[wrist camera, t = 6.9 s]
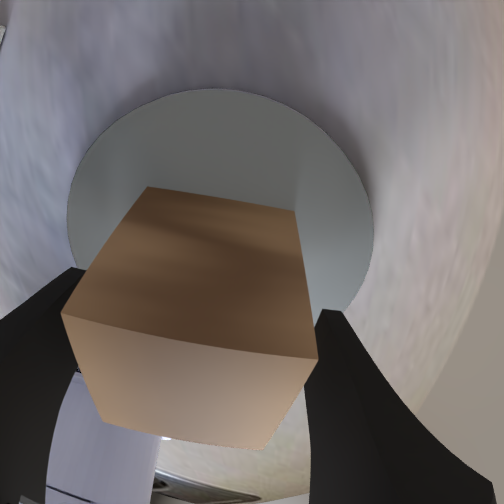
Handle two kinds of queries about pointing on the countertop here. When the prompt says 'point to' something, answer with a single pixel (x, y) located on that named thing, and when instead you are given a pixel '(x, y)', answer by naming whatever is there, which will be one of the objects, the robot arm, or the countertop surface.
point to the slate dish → (231, 179)
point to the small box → (2, 32)
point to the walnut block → (195, 320)
